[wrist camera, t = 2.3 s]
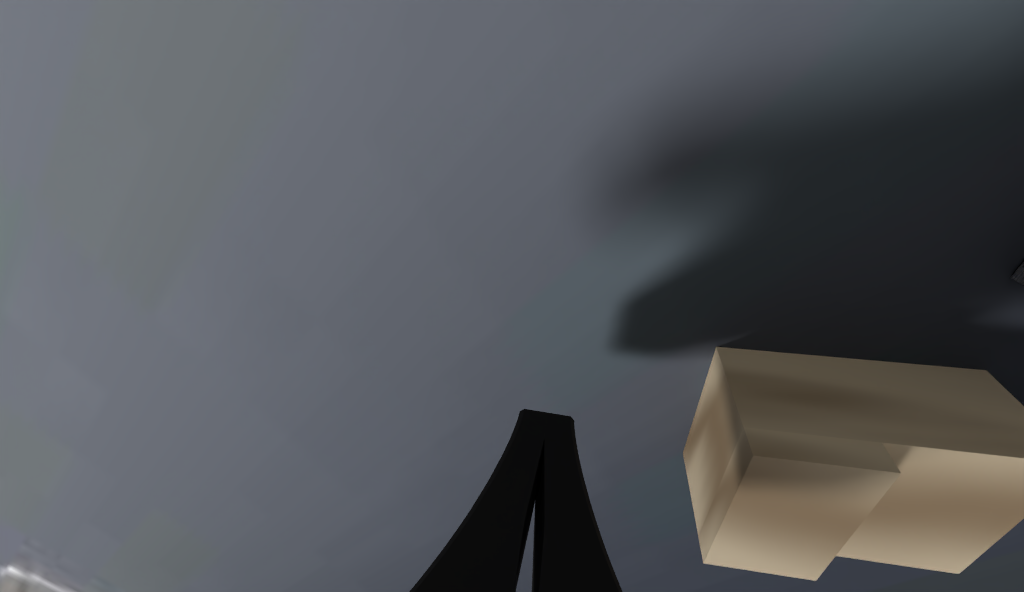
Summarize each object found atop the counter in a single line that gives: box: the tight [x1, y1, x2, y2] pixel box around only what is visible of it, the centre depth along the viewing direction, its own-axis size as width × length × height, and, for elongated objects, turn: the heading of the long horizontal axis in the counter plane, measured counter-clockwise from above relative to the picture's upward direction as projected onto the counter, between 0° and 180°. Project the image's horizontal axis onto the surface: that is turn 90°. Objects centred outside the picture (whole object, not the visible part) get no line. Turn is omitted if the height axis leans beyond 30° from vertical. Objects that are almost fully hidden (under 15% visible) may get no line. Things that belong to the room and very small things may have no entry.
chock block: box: [683, 347, 1024, 581], centre depth 12 cm, size 5×7×4 cm
